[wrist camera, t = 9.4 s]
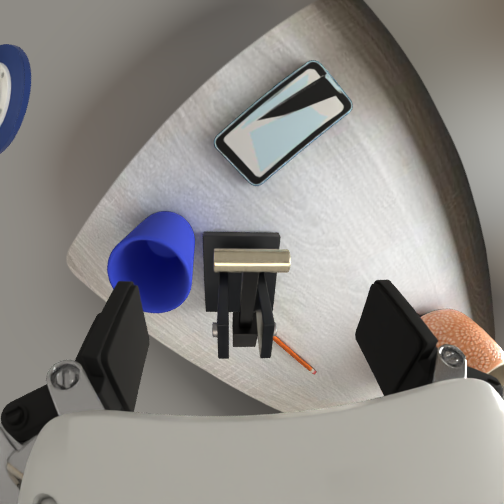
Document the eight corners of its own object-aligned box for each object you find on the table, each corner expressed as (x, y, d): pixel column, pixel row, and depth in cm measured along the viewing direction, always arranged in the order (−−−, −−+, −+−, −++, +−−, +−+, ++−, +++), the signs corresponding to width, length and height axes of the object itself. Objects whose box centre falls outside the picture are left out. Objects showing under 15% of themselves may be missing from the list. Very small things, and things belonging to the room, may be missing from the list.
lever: (214, 239, 19) (213, 266, 17) (287, 240, 19) (292, 267, 18) (218, 325, 28) (218, 347, 26) (267, 325, 28) (269, 346, 27)
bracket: (203, 231, 33) (190, 292, 22) (278, 232, 34) (303, 292, 23) (206, 306, 38) (200, 379, 27) (271, 306, 39) (286, 377, 27)
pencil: (312, 372, 46) (313, 375, 45) (248, 317, 39) (249, 320, 39) (316, 370, 46) (316, 373, 45) (253, 314, 39) (253, 317, 38)
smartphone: (209, 141, 28) (314, 56, 24) (210, 141, 29) (312, 58, 25) (255, 190, 31) (356, 107, 27) (255, 187, 32) (353, 107, 28)
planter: (459, 272, 40) (525, 338, 23) (458, 339, 48) (499, 396, 31) (364, 331, 43) (411, 423, 26) (382, 385, 51) (413, 455, 34)
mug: (111, 259, 34) (80, 303, 25) (161, 188, 31) (134, 217, 22) (160, 294, 37) (143, 345, 28) (215, 231, 33) (210, 274, 24)
